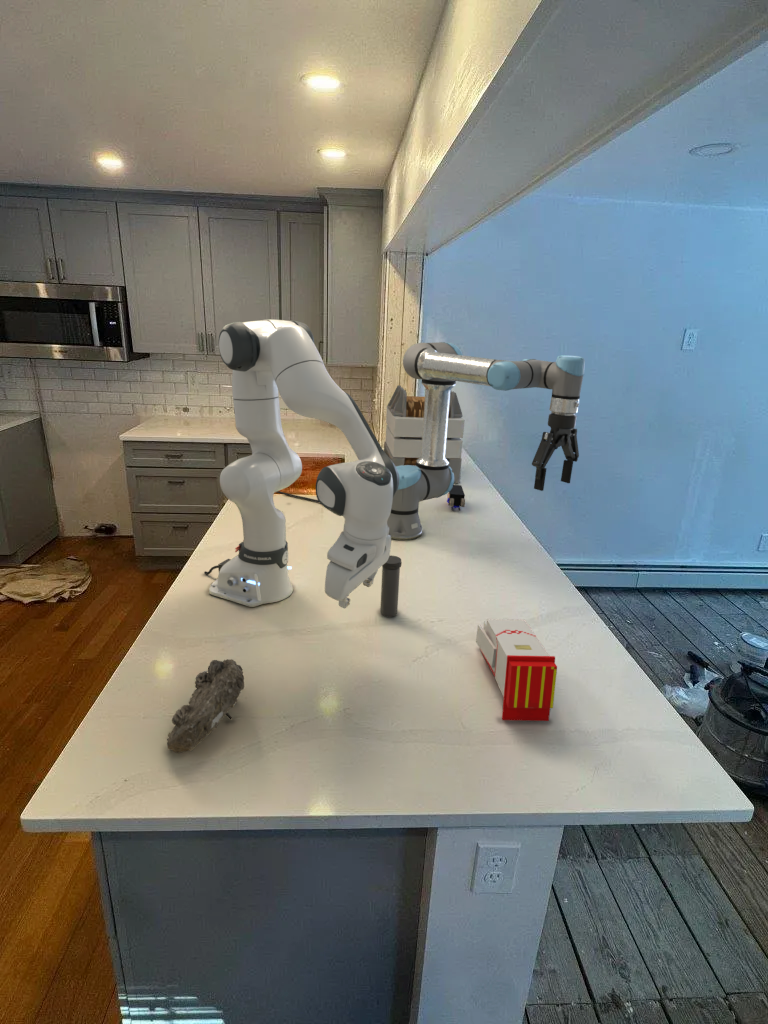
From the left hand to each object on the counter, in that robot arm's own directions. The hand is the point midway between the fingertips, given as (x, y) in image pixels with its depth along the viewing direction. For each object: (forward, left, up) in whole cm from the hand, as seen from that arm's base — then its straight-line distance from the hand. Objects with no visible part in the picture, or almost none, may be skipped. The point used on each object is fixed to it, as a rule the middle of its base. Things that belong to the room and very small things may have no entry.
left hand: (356, 595), depth 121 cm
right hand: (+40, +63, +11) cm, 75 cm away
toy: (+34, +5, -17) cm, 38 cm away
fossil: (-20, -26, -17) cm, 37 cm away
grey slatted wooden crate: (-18, +158, -17) cm, 160 cm away
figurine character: (+6, +115, -17) cm, 116 cm away
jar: (+2, +24, -17) cm, 29 cm away
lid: (+2, +24, -2) cm, 24 cm away
